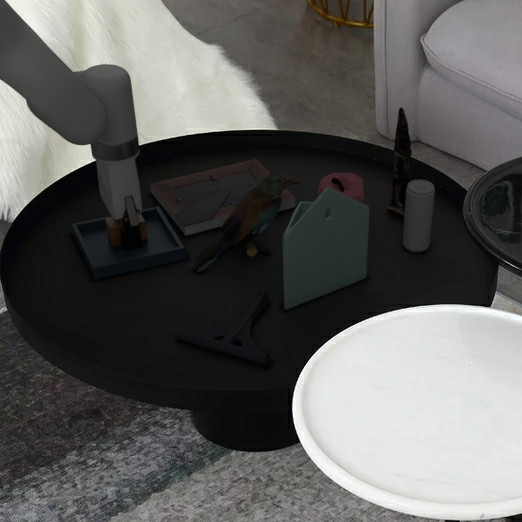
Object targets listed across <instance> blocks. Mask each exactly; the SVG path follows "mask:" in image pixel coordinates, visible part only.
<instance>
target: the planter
mask: <svg viewBox="0 0 522 522" xmlns="http://www.w3.org/2000/svg"><path fill="white" fill-rule="evenodd" d="M369 230H370V207H369V205H367V204H366V203H365V204H362V203H360V202H358V201H356V200H354V199H352V198H350V197H348V196H346V195H344V194H342V193H340V192H338V191H336V190H334V189H332V188H330V187H327V188H325V190H324V191H323V192H322V193H321V194H320V195H319V197H318V198H317V197H316V199H315V200H314V201H299V202H298V203H297V205H296V207H295V209H294V210H293V213H292V215H291V217H290V220H289V222H288V225H287V227H286V229H285V230H284V233H283V234H282V280H283V281H282V282H283V283H282V284H283V287H282V288H283V308H284V310H289V309H292V308H294V307H297V306H299V305H301V304H304V303H307V302H310V301H312V300H314V299H317V298H320V297H322V296H324V295H325V296H326V295H327V294H330V293H332V292H335V291H337V290H340V289H342V288H345V287H347V286H350V285H352V284H355V283H358V282H360V281H363V280H366V279H367V273H368V257H369V256H368V253H369V233H370V232H369Z"/></svg>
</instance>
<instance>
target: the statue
mask: <svg viewBox="0 0 522 522" xmlns="http://www.w3.org/2000/svg"><path fill="white" fill-rule="evenodd" d="M409 130H410V129H409V123H408V119H407V116H406V113H405V110H404V108H403V107H402V106H401V107H399V109H398V113H397V122H396V129H395V137H394V145H393V146H394V147H393V164H392V167H393V169H392V185H391V186H392V189H391V199H390V203H389V204H388V205H387V206H386V211H387V212H388V213H390V214H393V215H395V216H397V217H399V218H401V219H403V220H404V215H405V202H406V189H407V187H408V183H409V182H411V181H413V179H412V171H411V165H412V154H413V153H412V149H411V148H412V141H411V137H410V133H409Z"/></svg>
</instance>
